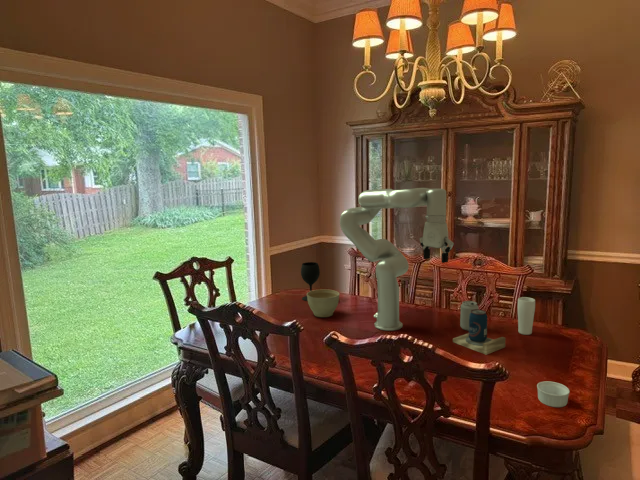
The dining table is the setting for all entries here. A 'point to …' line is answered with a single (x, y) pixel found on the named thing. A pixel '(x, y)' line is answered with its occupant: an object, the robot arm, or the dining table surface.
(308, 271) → the wine glass
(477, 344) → the holder board
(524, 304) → the drinking glass
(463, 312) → the can
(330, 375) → the dining table surface
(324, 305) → the planter bowl
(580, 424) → the dining table surface
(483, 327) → the soda can
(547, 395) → the ramekin
